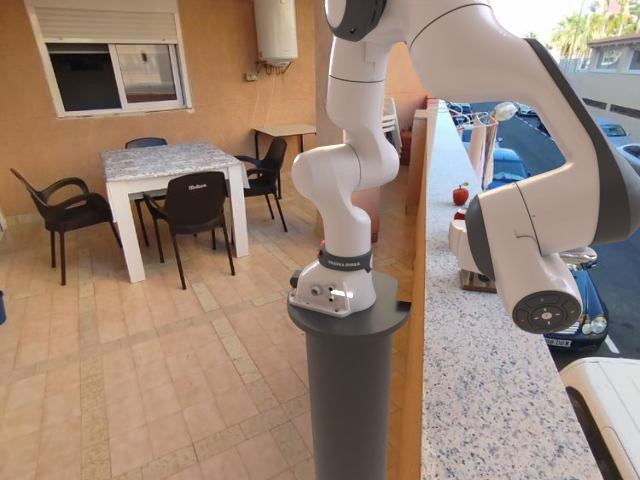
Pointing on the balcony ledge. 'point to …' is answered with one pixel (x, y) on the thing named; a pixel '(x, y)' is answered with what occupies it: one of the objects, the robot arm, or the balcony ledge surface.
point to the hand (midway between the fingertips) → (506, 222)
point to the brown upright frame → (476, 282)
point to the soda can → (460, 214)
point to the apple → (460, 195)
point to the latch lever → (483, 278)
